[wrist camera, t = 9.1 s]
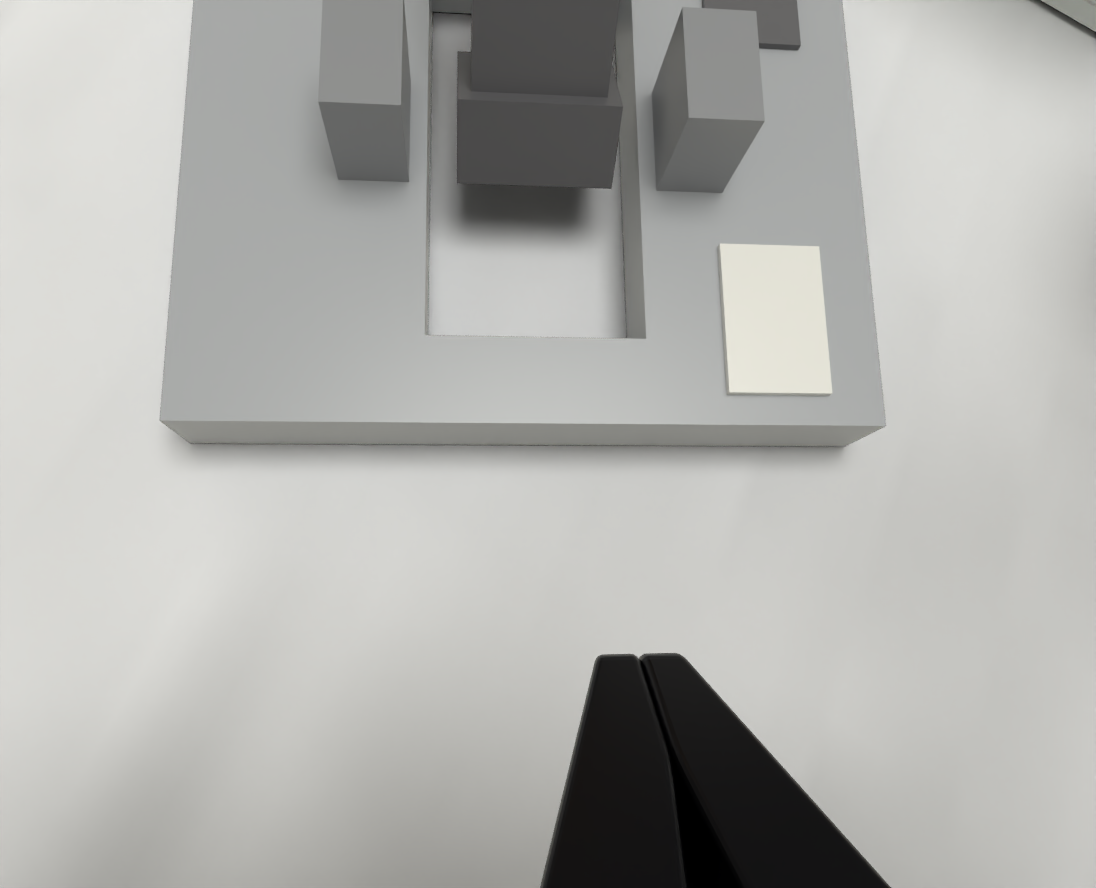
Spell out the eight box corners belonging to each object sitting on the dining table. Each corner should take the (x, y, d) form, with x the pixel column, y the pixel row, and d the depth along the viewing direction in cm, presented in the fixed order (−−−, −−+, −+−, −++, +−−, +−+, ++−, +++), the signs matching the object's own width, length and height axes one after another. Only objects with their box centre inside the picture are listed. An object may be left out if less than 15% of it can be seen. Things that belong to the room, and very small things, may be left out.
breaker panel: (844, 446, 22) (958, 389, 17) (190, 443, 21) (103, 379, 16) (800, -29, 25) (886, -196, 20) (227, -65, 24) (164, -256, 19)
